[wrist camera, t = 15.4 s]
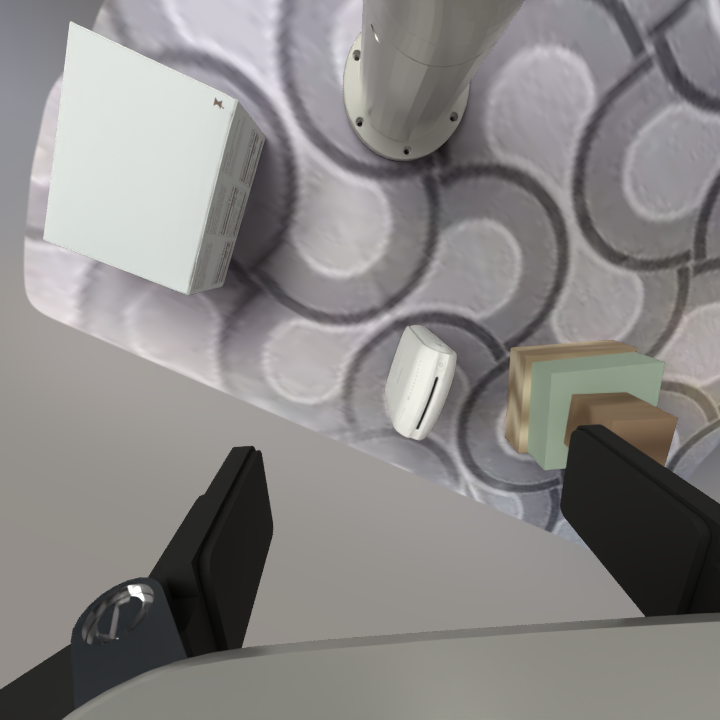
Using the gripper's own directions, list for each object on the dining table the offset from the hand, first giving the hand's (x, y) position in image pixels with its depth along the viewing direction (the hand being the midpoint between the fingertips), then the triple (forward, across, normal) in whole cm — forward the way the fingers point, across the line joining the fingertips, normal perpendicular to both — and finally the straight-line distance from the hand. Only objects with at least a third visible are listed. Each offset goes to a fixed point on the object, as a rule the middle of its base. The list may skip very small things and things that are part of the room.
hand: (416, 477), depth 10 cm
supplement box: (+33, +19, -14) cm, 40 cm away
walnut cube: (+24, -24, +12) cm, 37 cm away
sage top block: (+28, -25, +12) cm, 40 cm away
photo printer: (+33, -5, +7) cm, 34 cm away
